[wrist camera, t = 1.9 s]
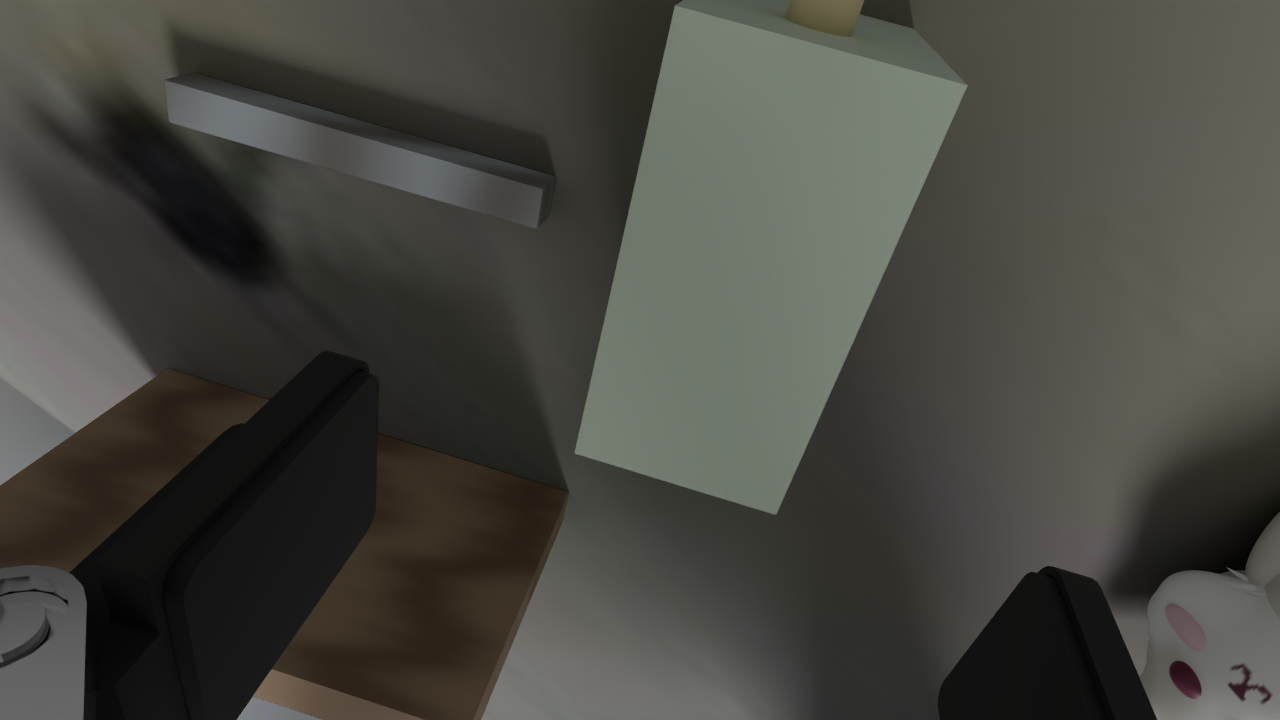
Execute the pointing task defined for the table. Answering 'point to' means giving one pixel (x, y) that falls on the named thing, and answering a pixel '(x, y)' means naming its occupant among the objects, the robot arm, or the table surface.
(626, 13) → the table surface
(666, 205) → the pale green block
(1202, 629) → the cat figurine
